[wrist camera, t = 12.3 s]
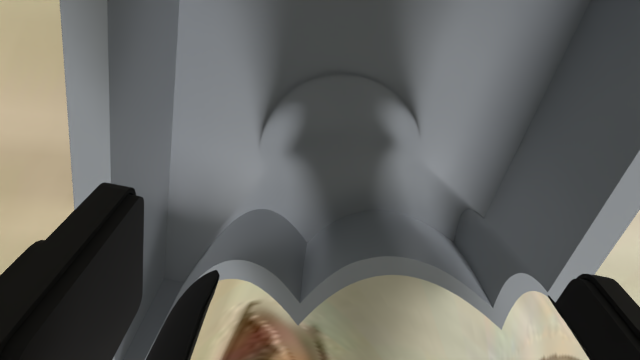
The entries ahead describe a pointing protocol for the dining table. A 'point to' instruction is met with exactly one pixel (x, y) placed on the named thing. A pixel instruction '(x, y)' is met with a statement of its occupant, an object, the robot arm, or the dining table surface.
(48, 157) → the dining table surface
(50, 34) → the dining table surface
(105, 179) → the box
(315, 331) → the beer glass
